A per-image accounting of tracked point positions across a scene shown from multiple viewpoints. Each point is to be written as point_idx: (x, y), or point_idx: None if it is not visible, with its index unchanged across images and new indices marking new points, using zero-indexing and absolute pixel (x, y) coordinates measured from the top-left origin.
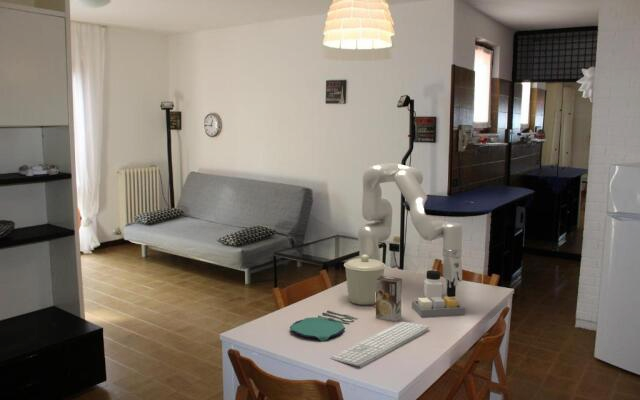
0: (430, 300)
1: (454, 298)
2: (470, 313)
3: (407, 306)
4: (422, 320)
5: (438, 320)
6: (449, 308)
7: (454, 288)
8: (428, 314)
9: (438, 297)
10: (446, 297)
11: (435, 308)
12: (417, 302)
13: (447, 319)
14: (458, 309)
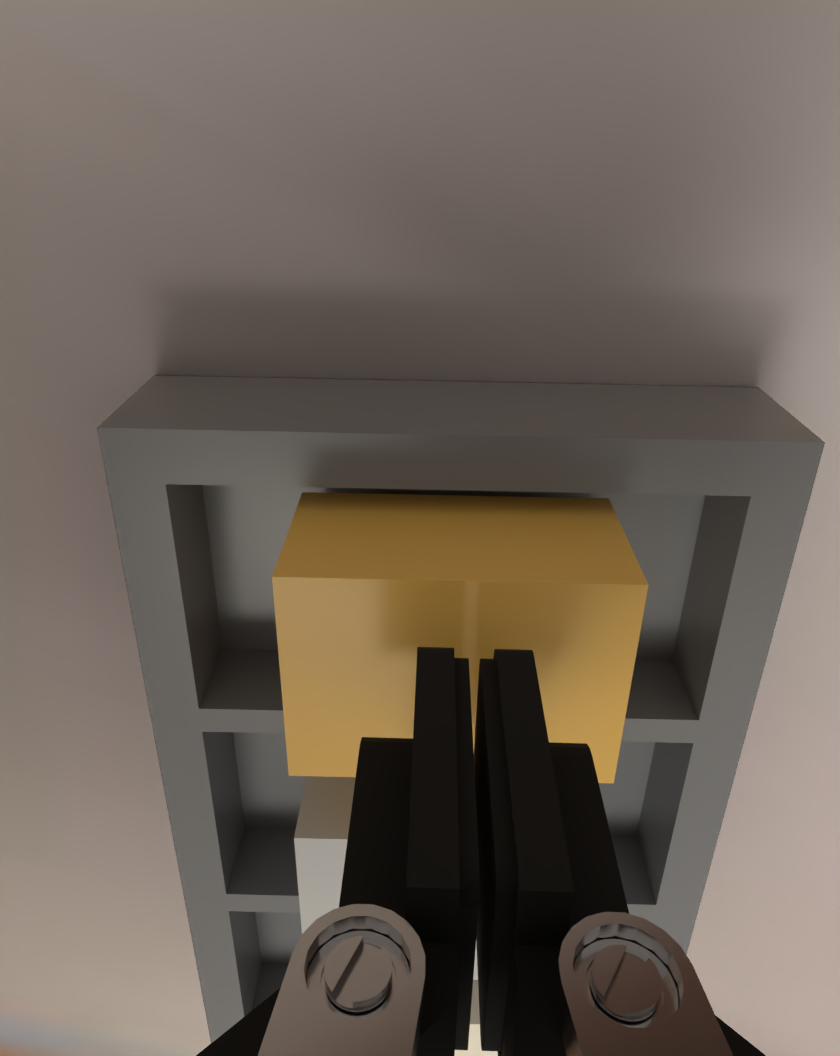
0: (208, 854)
1: (466, 597)
2: (708, 187)
3: (181, 974)
4: (734, 974)
5: (815, 830)
6: (727, 724)
7: (633, 925)
8: None
9: (331, 870)
10: (354, 736)
11: (643, 908)
12: (248, 991)
13: (832, 717)
14: (781, 553)
